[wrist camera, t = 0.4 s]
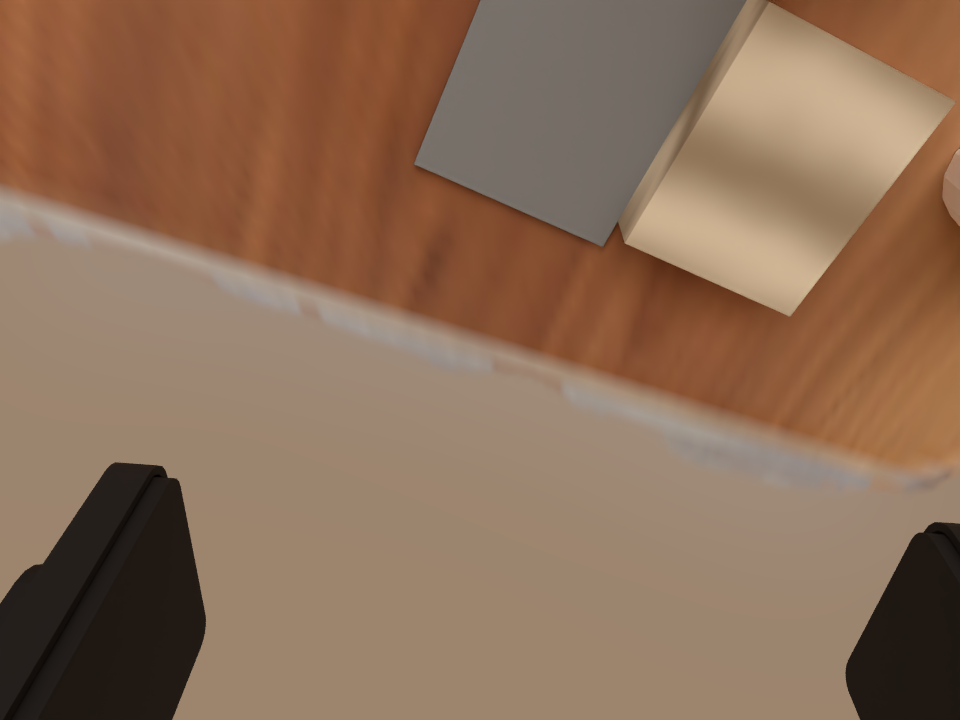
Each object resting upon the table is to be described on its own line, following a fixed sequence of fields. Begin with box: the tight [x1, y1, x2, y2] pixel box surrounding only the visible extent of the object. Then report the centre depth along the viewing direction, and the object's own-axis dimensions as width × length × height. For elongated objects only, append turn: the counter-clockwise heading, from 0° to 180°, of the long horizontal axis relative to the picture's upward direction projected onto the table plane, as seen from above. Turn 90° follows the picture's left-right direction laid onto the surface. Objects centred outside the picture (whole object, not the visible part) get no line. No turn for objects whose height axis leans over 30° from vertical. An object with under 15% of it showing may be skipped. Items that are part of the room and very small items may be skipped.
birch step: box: [618, 0, 956, 316], centre depth 34 cm, size 11×9×3 cm
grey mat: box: [414, 0, 747, 247], centre depth 33 cm, size 14×10×1 cm
